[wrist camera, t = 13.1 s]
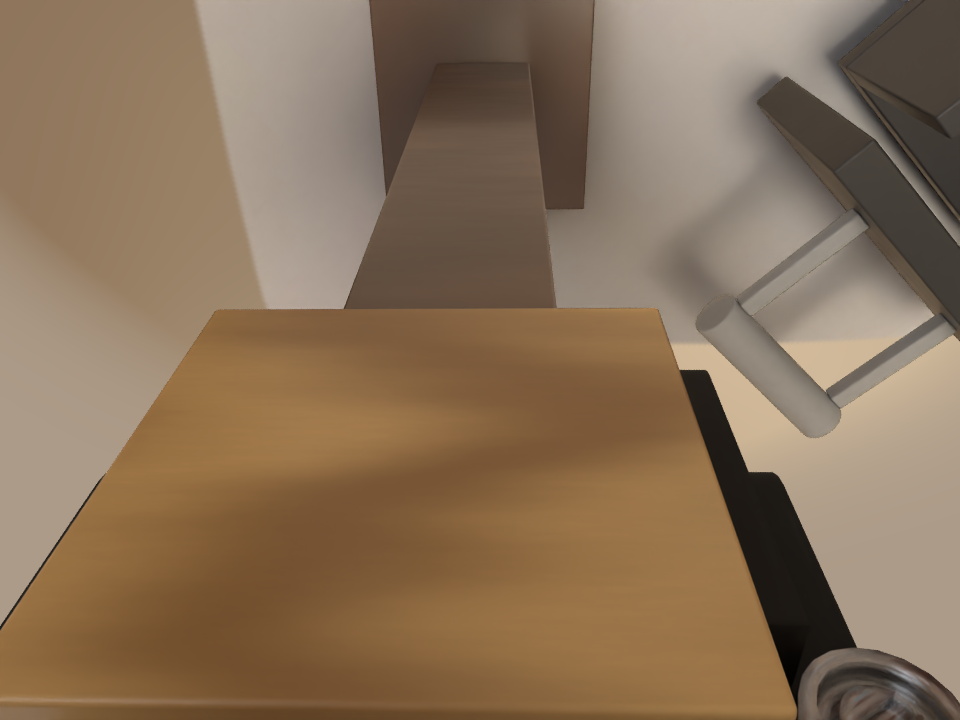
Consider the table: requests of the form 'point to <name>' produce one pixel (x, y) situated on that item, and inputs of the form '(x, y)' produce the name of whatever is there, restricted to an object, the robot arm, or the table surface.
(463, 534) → the block
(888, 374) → the drawer
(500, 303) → the stand
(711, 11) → the table surface
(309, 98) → the table surface
